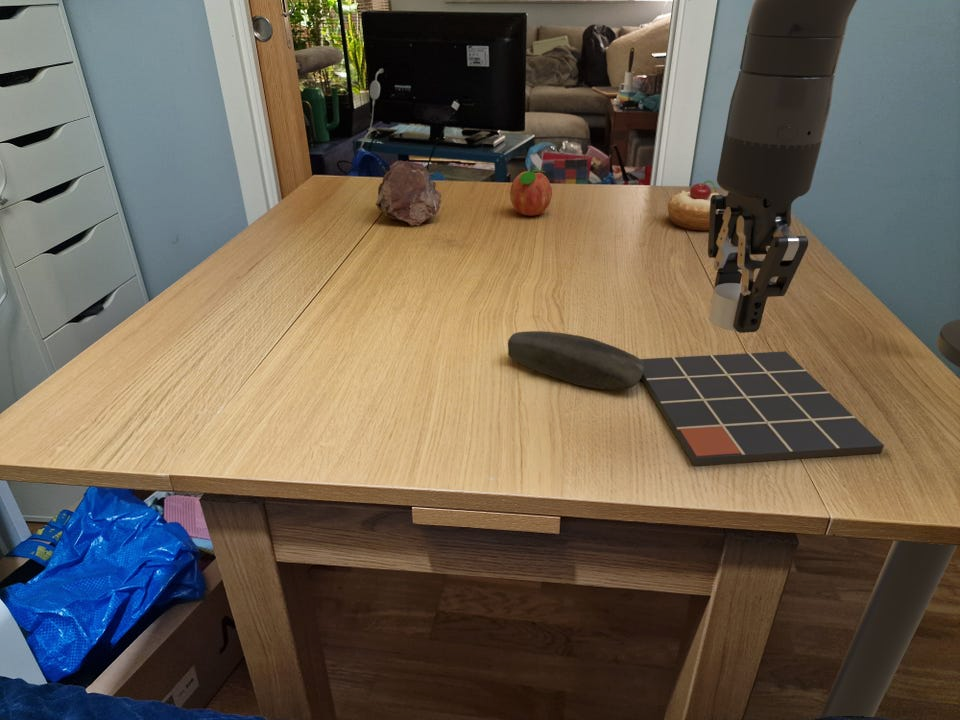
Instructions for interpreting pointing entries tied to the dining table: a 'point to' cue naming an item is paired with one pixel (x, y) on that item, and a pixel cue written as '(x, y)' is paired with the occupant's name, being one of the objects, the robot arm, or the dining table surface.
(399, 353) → the dining table surface
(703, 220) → the pastry
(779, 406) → the board
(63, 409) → the dining table surface
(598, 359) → the dark glasses case
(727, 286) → the white short cylinder
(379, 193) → the mineral specimen
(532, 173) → the fruit
